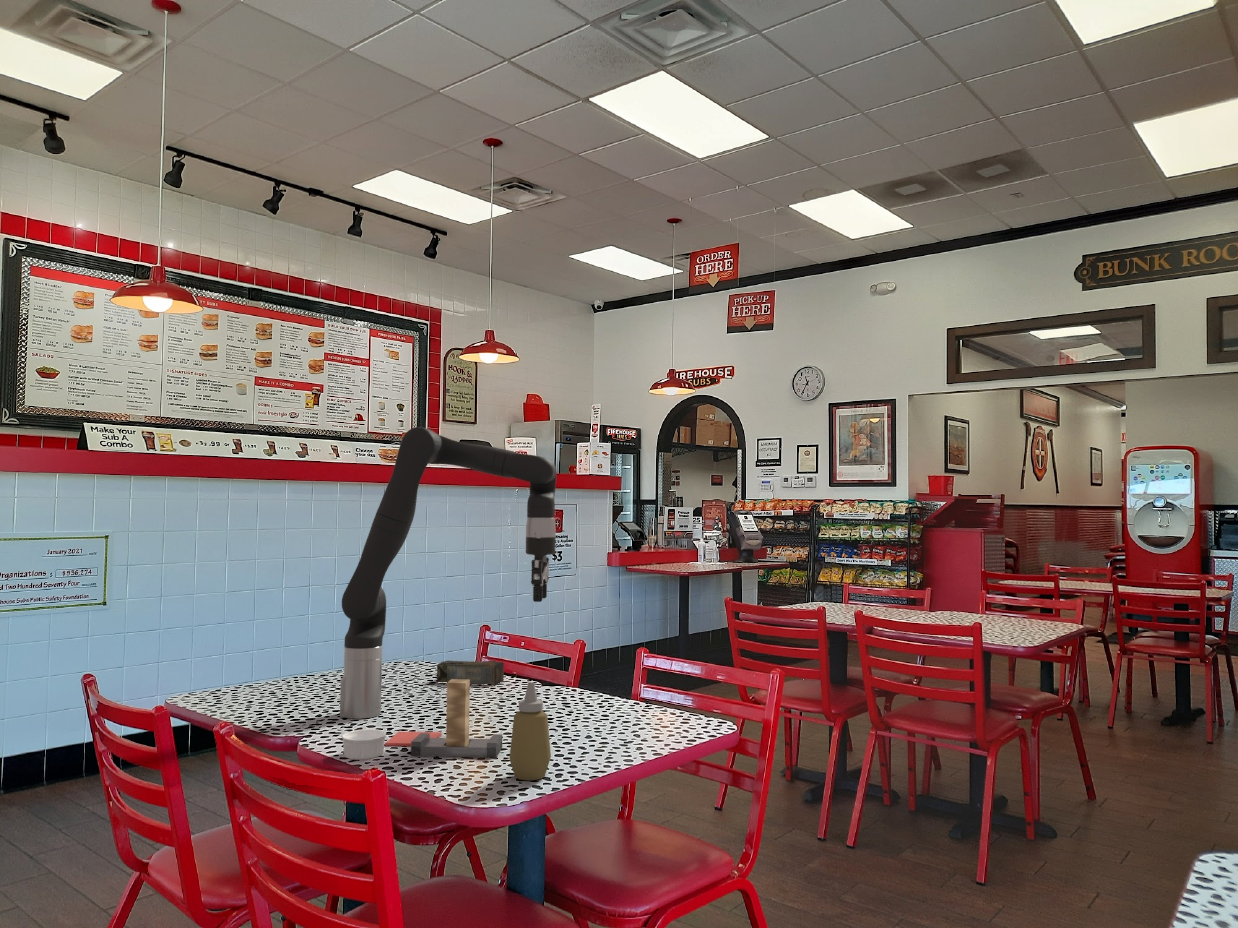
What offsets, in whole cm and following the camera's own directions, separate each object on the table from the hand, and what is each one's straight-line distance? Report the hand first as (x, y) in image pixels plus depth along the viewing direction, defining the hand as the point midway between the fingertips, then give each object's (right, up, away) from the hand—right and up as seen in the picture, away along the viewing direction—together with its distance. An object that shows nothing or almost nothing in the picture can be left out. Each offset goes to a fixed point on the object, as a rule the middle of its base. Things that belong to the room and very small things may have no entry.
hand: (540, 599), depth 214 cm
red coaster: (-26, -28, -24) cm, 45 cm away
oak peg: (-14, -27, -33) cm, 45 cm away
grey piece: (-14, -27, -33) cm, 45 cm away
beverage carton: (-25, -32, +43) cm, 60 cm away
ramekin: (-34, -27, -35) cm, 56 cm away
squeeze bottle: (+3, -27, -50) cm, 57 cm away
